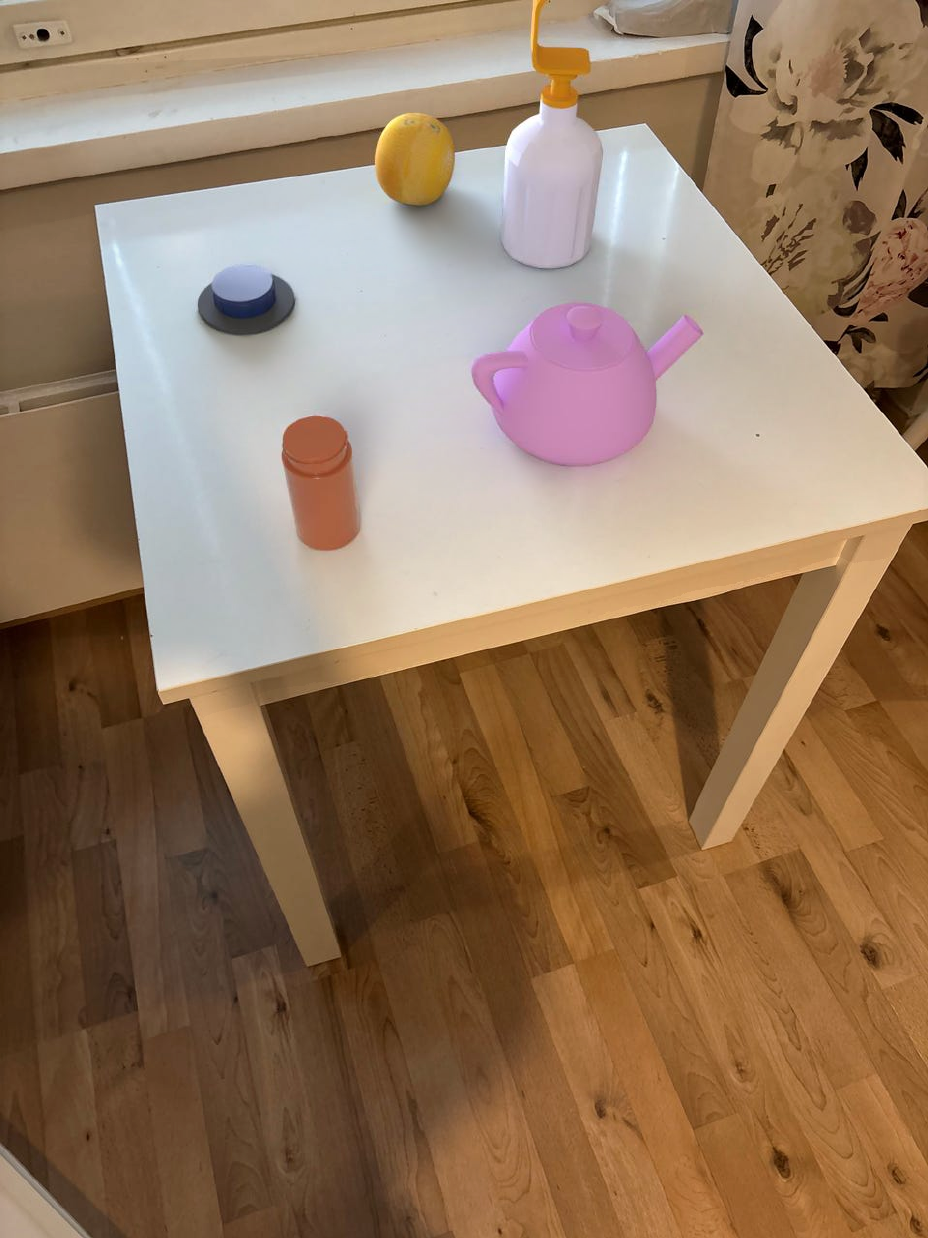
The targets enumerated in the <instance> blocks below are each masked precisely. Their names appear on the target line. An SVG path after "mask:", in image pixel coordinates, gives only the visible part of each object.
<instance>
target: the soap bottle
mask: <svg viewBox="0 0 928 1238" xmlns="http://www.w3.org/2000/svg"><path fill="white" fill-rule="evenodd" d="M549 1H550V0H532V9H531V10H532V11H531V13H532V14H531V24H530V25H531V26H530V53H531V64H532V68H533V69H534V70H535V71H536V73H539V74H542V75H546V77H547V78H548V79H550V80H551V84H549V85H546V86H545V87H544V88H542V90H541V95H540V101H539V102H540V105H539V113H538V114H536V115H533V116H531V117H528V118H527V119H525V120H524V121H523V122H521V123H520V124H519V125H517V126H516V127H515V128H514V129H513V130H512V131H511V134H510V136H509V138H508V141H507V143H506V147H505V150H504V151H505V152H504V153H505V154H504V170H503V173H504V174H503V187H502V189H503V190H502V193H503V194H502V207H501V209H502V210H501V226H500V227H501V229H500V241H501V243H502V246H503V249H504V251H505V252H506V253H507V254H508V255H509V256H510V258H512V259H513V260H515V261H517V262H519V263H521V264H523V265H525V266H529V267H533V268H537V269H559V268H564V267H570V266H572V265H574V264H576V263H578V262H580V261H582V259H584V257H585V256H586V255H587V254H588V252H589V251H590V250H591V249H590V248H591V243H592V237H593V231H594V223H595V215H596V209H597V201H598V196H599V195H598V194H599V193H598V192H599V188H600V187H599V186H600V179H601V174H602V173H601V172H602V166H603V158H604V157H603V156H604V148H603V143H602V141H601V138H600V136H599V133H598V132H597V131H596V130H595V129H594V128H593V127H592V126H591V125H590V124H589V123H587V122H586V121H585V120H584V119H582V118H580V117H578V116H577V115H578V114H577V113H578V105H579V91H578V90H577V89H576V88H575V87H573V86H571V82H572V81H574V80H576V79H577V78H578V76H585V75H589V74H590V73H591V69H592V66H591V58H590V51H589V50H588V49H586V48H584V47H565V46H564V47H563V46H542V45H540V44H539V43H538V40H539V25H540V16H541V13H542V9H543V7H544V5H545V4H546V3H548V2H549Z"/></svg>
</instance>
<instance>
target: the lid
mask: <svg viewBox="0 0 928 1238" xmlns="http://www.w3.org/2000/svg"><path fill="white" fill-rule="evenodd" d="M271 274H272V273H271V272H269V271H268V270H267V269H266V268H264V267H261V266H259V265H257V264H256V265H255V264H248V263H247V264H245V263H244V264H242V263H241V264H236V265H232V266H228V267H226V268H224V269H222V270H220V271H219V272H218V273H216V274H215V276H214V277H213V279H212V282H211V283H212V291H213V298H214V302H215V306H216V307H217V308H218V310H219V311H220V312H221V313H223V314H224V315H226V316H229V317H232V318H239V319H246V318H253V317H257V316H259V315H262V314H264V313H266V312H267V311H268V310H270V309H271V308H272V306H273V305H274V303H275V302H276V295H275V287H274V281H273V278H272V276H271Z"/></svg>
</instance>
